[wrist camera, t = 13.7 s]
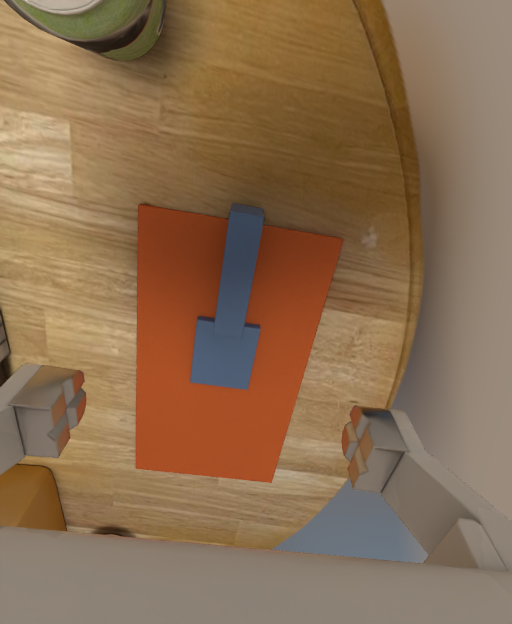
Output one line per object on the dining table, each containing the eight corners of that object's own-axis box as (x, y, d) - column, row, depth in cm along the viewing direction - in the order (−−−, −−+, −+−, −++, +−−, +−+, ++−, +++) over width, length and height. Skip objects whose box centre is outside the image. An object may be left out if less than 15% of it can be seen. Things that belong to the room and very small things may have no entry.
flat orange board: (139, 203, 26) (138, 204, 26) (342, 238, 27) (343, 239, 27) (136, 465, 40) (135, 468, 39) (271, 479, 41) (271, 482, 41)
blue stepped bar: (210, 198, 25) (206, 206, 23) (284, 212, 26) (287, 220, 23) (191, 377, 33) (186, 397, 31) (247, 384, 34) (247, 404, 31)
